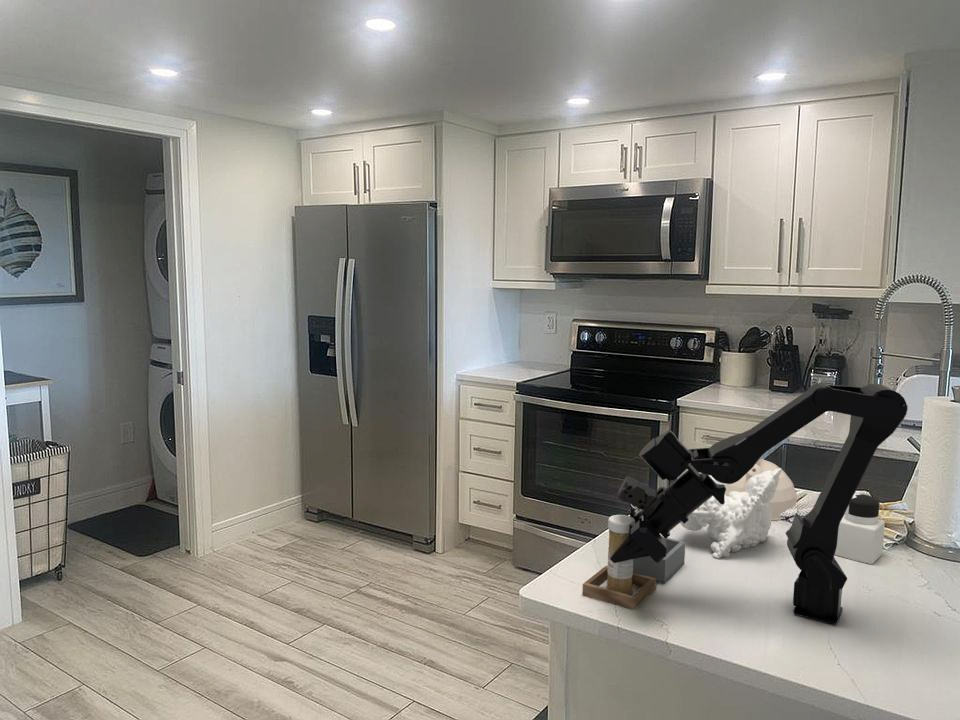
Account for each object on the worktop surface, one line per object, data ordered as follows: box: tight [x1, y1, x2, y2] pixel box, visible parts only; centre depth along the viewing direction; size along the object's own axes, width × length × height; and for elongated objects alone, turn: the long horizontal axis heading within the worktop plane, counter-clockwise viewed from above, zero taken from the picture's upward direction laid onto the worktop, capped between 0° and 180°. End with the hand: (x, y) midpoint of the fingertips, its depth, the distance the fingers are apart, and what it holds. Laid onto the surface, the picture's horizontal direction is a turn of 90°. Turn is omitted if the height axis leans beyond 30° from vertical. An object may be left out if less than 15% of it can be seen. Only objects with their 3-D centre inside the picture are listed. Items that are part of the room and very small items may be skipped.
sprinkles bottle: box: [606, 514, 635, 595], centre depth 126 cm, size 5×5×13 cm
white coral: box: [679, 467, 783, 560], centre depth 149 cm, size 19×20×20 cm
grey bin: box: [633, 536, 686, 585], centre depth 137 cm, size 11×11×4 cm
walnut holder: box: [581, 564, 657, 611], centre depth 126 cm, size 10×10×2 cm
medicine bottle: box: [834, 493, 886, 565], centre depth 143 cm, size 7×7×12 cm
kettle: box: [725, 458, 798, 522], centre depth 171 cm, size 20×21×18 cm
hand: (612, 555), depth 126 cm, fingers closed on sprinkles bottle, 4 cm apart
